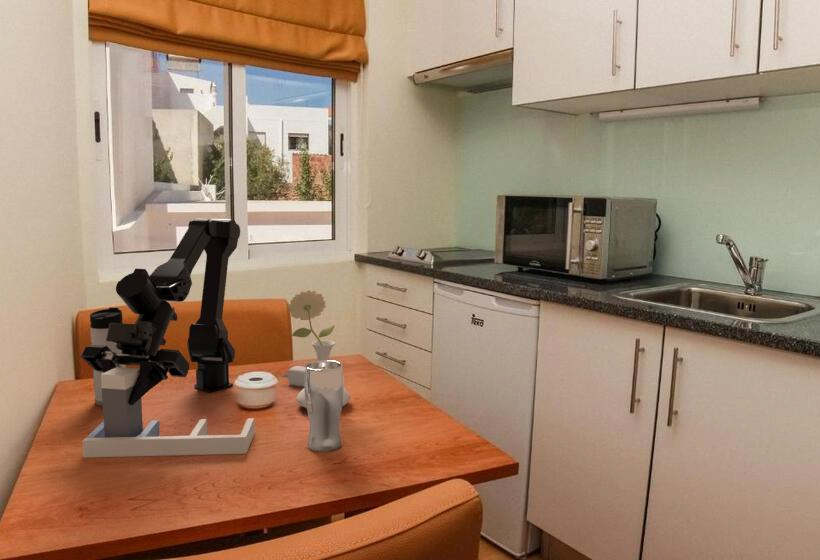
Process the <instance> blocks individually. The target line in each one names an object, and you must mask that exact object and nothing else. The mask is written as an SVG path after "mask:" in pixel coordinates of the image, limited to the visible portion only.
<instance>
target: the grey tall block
mask: <svg viewBox="0 0 820 560" xmlns="http://www.w3.org/2000/svg"><path fill="white" fill-rule="evenodd" d="M139 373H140V367H139V368H136V367H125V368H124V367H116V368H114V369H111V370H109V371H107V372H105V373H102V374H101V386H102V402H103V406H102V413H103V414H102V415H103V417H102V418H103V421H104V434H105V438H112V437H137V436H138V435H140V434H141V433H142V431H143V430H144V428H143V427H144V426H143V425H144V424H143V423H144V422H143V409H142V406H143V404H142V397H141V398H140V399H139V400H138V401H137V402H136V403H135V404H133V405H130V404H129V403H128V401H129V398H130V394H131V392H132V390H133V387H134V385H135V383H136V381H137V378H138V376H139Z"/></svg>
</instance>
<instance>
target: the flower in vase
mask: <svg viewBox="0 0 820 560" xmlns="http://www.w3.org/2000/svg"><path fill="white" fill-rule="evenodd" d="M289 302H290V303H289V304H288V305H287V309H288V312H289V313H290V316H291V317H292V318H294V319H300V321H309V327H310V329H309V328H306V327H300V328H298V329H296V330H295V331H294V332H292V334H291V336H292V337H298V338H307V337H308V336H309V335H310V334H313V335H314V336H315V338H316V339H317V340H314V341H312V342H311V343H310V344H311V346H312V347H313V349H314V351H315V353H316V358H317V361H319V360H330V355H331V351H332V349H333V347H334V346H335V344H336V342H335V341H334V340H328V339H323V340H321V339H320V338H325V337H327V336H329V335H330V334H332V332H333V330H334V329H335V324H334V325H332V326H330V327H326V328H325V329H322V330H321V331H320V332H319V333H318V335H317V334H316V333H315V330H313V326H312V321H311V319H315V317H318V316H319V317H320V316H321V313H323V312H324V309H326V308H327V307H326V301H325V300H324V297H323V294H322V293H317V292H316V291H315V290H313V291H311V290H307V291H300V293H299V294H298V293H297V294H295V295H294V296H293V297H292V299H291V300H290V301H289ZM350 401H351V395H350V393H349V391H348V390H346V389H345V388H344V395H343V403H342V407H344V406H345V405H347V404H348V403H349V402H350ZM296 402H297V403H298V405H299V406H301V407H303V408H305V409H307V407H306V401H305V389H304V388H302V389H301V391H300V392H299V393H298V395H297V397H296Z"/></svg>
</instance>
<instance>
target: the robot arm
mask: <svg viewBox="0 0 820 560" xmlns="http://www.w3.org/2000/svg"><path fill="white" fill-rule="evenodd" d="M240 237H241V227H240V225H239V223H237V222H236V221H235V220H234V219H231V218H193V219H190V220H189V223H188V228H187V230H186V232H185V233H184V234H183V236H182V238H181V239H180V242H179V243H178V244H177V246H176V248H175V250H174V252H173V253H172V255H171V256H170V258H169V259H168V260H167V261H166V262H164V263H162V264H160V265H158V266H157V267H156V268H155V269H154V270H153V271H152V272H151V274H150V275H149V272H148V271H147V269H146V268H135V269H134V270H133V272H131V273H128V274H126V276H123V277H122V278H121V279H120V280H119V281H118V282H117V283H116V286H115V292H116V294H117V295H118V296H119V297H120V299H121V300H122V301H123V302H124V303H125V305H126V306H127V307H128V308H129V309H130V311H131V312H132V313H133V314H135V315H137V318H136V320H135V322H134V323H123V324H121V323H110V324H109V329H108V333H107V338H106V341H108V342H110V341H112V342H115V343H117V345H116V347H117V348H118V349H119V350H122V354H116V353H114V352H112V351H111V350H110V349H109V348H108V347H107V346H102V345H91V344H89V345H87V346H85V347H84V348H83V351H81V354H80V358H81V359H82V360H83V361H84V362H85V363H87V365H88V366H90V367H91V369H92V370H93V369H94V370H96V371H98V372H103V373H105V372H107V371H109V370H111V369H114V368H116V367H121V366H122V365H125V366H126V365H127V366H136V367H137V366H139V368H140V373H139V376H138V378H137V381H136V383H135V385H134V387H133V390H132V392H131V394H130V398H129V401H128V403H129V404H130V405H133V404H135V403H136V402H137V401H138V400H139V399H140V398H141V399H142V398H143V397H144V396H145V395H146V394H147V393H148V392H149V391H150V390H151V389H153V388H154V387H156V386H157V385H159V384H160V383H161V382H162V381H165V380H168V379H169V376H168V374H169V375H170V376H171V377H175V378H176V377H177V378H186V377H188V373H189V370H190V363H189V361H188V360H187V359H186V357H185V356H184V354H182V353H181V351H180V350H179V349H169V348H168V349H167V348H160V347H161V346H165V345H166V342H167V340H166V339H165V335H166V332H167V329H168V327H169V325H170V322H176V321H177V320H178V314H177V313H176V311H175V307H173V306H172V305H171V304H170V302H173V303H175V302H176V303H177V302H178V303H181V302H184V301H185V300H186V299H187V298H188V296H189V294H190V290H191V288H192V285H193V281H192V277H191V275H192V272H193V270H194V268H195V266H196V265H197V263H198V261H199V259H200V258H201V255H202V254H203V252H205V255H206V256H205V257H206V260H205V268H204V277H203V278H204V279H203V285H202V294H201V295H202V296H201V303H200V304H201V305H200V313H199V318H198V319H197V321H196V322H195V323H190V326H189V330H188V331H189V332H188V338H187V351H188V354H189V359H190V362H191V363H197V364H196V365H197V366H196V367H197V368H196V370H195V375H196V376H195V378H196V380H195V381H196V382H195V384H193V385H194V388H195V389H198V390H199V389H200V390H202V391H205V392H208V393H213V392H216V391H220V390H223V389H227V388H230V387H234V383H232V382H230V375H229V374H230V373H229V370H230V369H229V367H230V366H229V364H231V363H233V362H234V360H235V356H236V350H235V348H234V346H233V345H232V343H231V342H230V341H229V330H228V329H227V327H226V325H225V322H224V321H223V314H224V313H223V312H224V303H225V295H226V286H227V285H226V284H227V275H228V266H229V258H230V257H231V255H232V254H233V253H234V252H235V250H236V249H237V247H238V242H239V238H240Z"/></svg>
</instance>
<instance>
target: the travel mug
mask: <svg viewBox="0 0 820 560" xmlns="http://www.w3.org/2000/svg"><path fill="white" fill-rule="evenodd" d="M89 322H90V341H91V343H90V345H102V346H107V347H108V348H109V349H110V350H111V351H112V352H114V353H116V354H122V350H119V349H118V348H117V347H116V345H117V343H115V342H112V341H110V342H108V341H106V338H107V333H108V329H109V324H110V323H121V324H124V322H123V310H121V309H119V307H109V308H105V309H101V310H100V309H99V310H96V311H93V312H91V313H90V315H89ZM121 367H124V368H126V365H122V366H121ZM92 372H93V373H92V375H93V390H94V391H93V392H94V403H95V404H96V406H100V407H103V402H102V386H101V374H102V373H103V372H98V371H96V370H94V369H93V368H92Z"/></svg>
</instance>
